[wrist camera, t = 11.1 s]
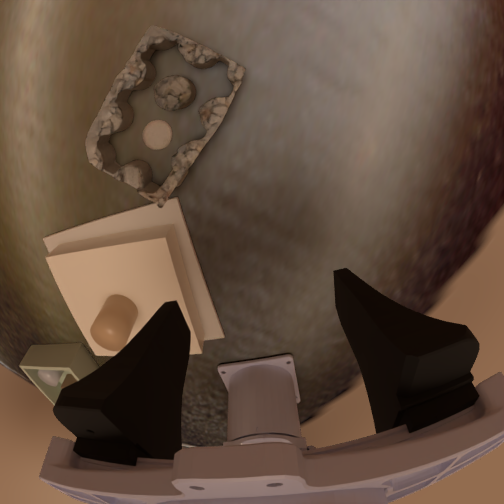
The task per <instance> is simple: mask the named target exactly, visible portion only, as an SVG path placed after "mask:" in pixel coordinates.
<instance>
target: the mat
mask: <svg viewBox="0 0 504 504" xmlns="http://www.w3.org/2000/svg"><path fill="white" fill-rule="evenodd" d="M167 224H173V225H174V229H175V233H176V237H177V240H178V244H179V248H180V252H181V256H182V259H183V263H184V267H185V270H186V274H187V277H188V281H189V284H190V288H191V291H192V295H193V298H194V301H195V305H196V308H197V311H198V315H199V318H200V321H201V324H202V328H203V331H204V334H205V336H204V340H212V339H219V338H225V334H224V331H223V329H222V326H221V323H220V320H219V318H218V315H217V312H216V310H215V307H214V304H213V301H212V298H211V296H210V293H209V290H208V287H207V284H206V281H205V278H204V276H203V273H202V270H201V267H200V264H199V261H198V258H197V255H196V252H195V249H194V246H193V243H192V240H191V237H190V234H189V231H188V227H187V224H186V221H185V218H184V215H183V212H182V208H181V205H180V202H179V199H178V196H177V197H173V198H169V199H168V200H167V202H166V203H165V204H164V206H163V208H159V207H158V206H157V204H155V203H151V204H147V205H143V206H140V207H136V208H133V209H129V210H126V211H123V212H119V213H116V214H112V215H109V216H106V217H103V218H99V219H96V220H93V221H90V222H87V223H84V224H81V225H78V226H75V227H72V228H69V229H66V230H63V231H60V232H57V233H54V234H51V235H48V236H46V237H44V238H43V240H44V242H45V245H46V247H47V249H48V251H49V253H50V252H51V251H52V250H53V249H55V248H56V247H57V246H58V245H59V244H62V243H67V242H72V241H77V240H82V239H87V238H92V237H98V236H103V235H109V234H114V233H120V232H125V231H131V230H137V229H143V228H149V227H155V226H161V225H167Z"/></svg>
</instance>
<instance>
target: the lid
mask: <svg viewBox="0 0 504 504" xmlns="http://www.w3.org/2000/svg"><path fill="white" fill-rule="evenodd" d="M45 258H46V260H47V262H48V265H49V267H50V269H51V272H52V274H53V276H54V278H55V281H56V283H57V285H58V287H59V289H60V291H61V293H62V295H63V297H64V299H65V301H66V303H67V305H68V307H69V309H70V311H71V313H72V315H73V317H74V319H75V320H76V322H77V324H78V326H79V328H80V329H81V331H82V333H83V335H84V336H85V338H86V340H87V342H88V343H89V345H90V347H91V348H92V350H93V352H94V353H95V355H96V356H115V355H116V354H117V353H118V352H119V351H120V350H122V349H123V348H124V347H125V346H126V345H127V344H128V343H129V342H130V341H131V340H132V338H133V337H134V336H135V335H136V334H137V333H138V332H139V331H140V330H141V329H142V328H143V326H144V325H145V324H146V323H147V322H148V321H149V320H150V318H151V317H152V316H153V315H154V314H155V312H156V311H157V310H158V309H159V308H160V307H161V306H162V305H163V304H164V303H165V302H169V301H175V300H177V302H178V304H179V307H180V309H181V311H182V314H183V316H184V318H185V320H186V322H187V325H188V327H189V329H190V331H191V344H190V354H202V351H203V344H204V336H205V334H204V331H203V328H202V324H201V321H200V318H199V315H198V311H197V308H196V305H195V301H194V298H193V295H192V291H191V288H190V284H189V281H188V277H187V274H186V270H185V267H184V263H183V259H182V256H181V252H180V248H179V244H178V240H177V237H176V233H175V229H174V225H173V224H167V225H161V226H155V227H149V228H143V229H137V230H131V231H125V232H120V233H114V234H109V235H103V236H98V237H92V238H87V239H82V240H77V241H72V242H67V243H62V244H59V245H58V246H57V247H56V248H55V249H53V250H52V251H51V252H50V253H49V254H48V255H47V256H46V257H45Z"/></svg>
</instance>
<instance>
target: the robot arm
mask: <svg viewBox="0 0 504 504" xmlns="http://www.w3.org/2000/svg"><path fill="white" fill-rule="evenodd" d="M333 272H334V286H335V303H336V309H337V312H338V316H339V319H340V322H341V325H342V327H343V330H344V332H345V334H346V336H347V339H348V341H349V343H350V345H351V348H352V350H353V352H354V354H355V357H356V359H357V361H358V364H359V367H360V369H361V373H362V376H363V380H364V383H365V387H366V390H367V394H368V398H369V402H370V406H371V410H372V415H373V419H374V423H375V429H376V434H374V435H371V436H367V437H364V438H360V439H356V440H353V441H349V442H345V443H340V444H336V445H332V446H327V447H322V448H317V449H316V448H315V447H314V446H308V447H307V446H306V439H305V437H301V429H300V422H299V416H298V409H297V403H299V402H300V395H299V389H298V384H297V378H296V372H295V367H294V361H293V356H292V355H290V354H286V355H281V356H275V357H269V358H263V359H257V360H251V361H244V362H237V363H229V364H222V365H219V366H218V372H219V374H220V376H221V378H222V380H223V382H224V384H225V386H226V388H227V390H228V425H227V442H224V443H223V446H210V447H190V448H183V449H182V442H181V407H182V393H183V387H184V381H185V376H186V370H187V365H188V360H189V354H190V344H191V331H190V329H189V327H188V325H187V322H186V320H185V318H184V316H183V314H182V311H181V309H180V307H179V304H178V302H177V300H175V301H169V302H165V303H164V304H163V305H162V306H161V307H160V308H159V309H158V310H157V311H156V312H155V314H154V315H153V316H152V317H151V318H150V320H149V321H148V322H147V323H146V324H145V325H144V326H143V328H142V329H141V330H140V331H139V332H138V333H137V334H136V335H135V336H134V337H133V338H132V340H131V341H130V342H129V343H128V344H127V345H126V346H125V347H124V348H123V349H122V350H120V351H119V352H118V353H117V354H116V355H115V356H114V357H112V358H111V359H110V360H109V361H107V362H106V363H105V364H103V365H102V366H101V367H99V368H98V369H97V370H95V371H94V372H92V373H90V374H89V375H87V376H86V377H84V378H82V379H80V380H79V381H77V382H75V383H73V384H71V385H69V386H67V387H64V388H62V390H61V392H60V394H59V396H58V399H57V401H56V403H55V406H54V408H53V412H54V415H55V416H56V418H57V419H58V420H59V421H60V422H61V423H62V424H63V425H64V426H65V427H66V428H67V429H68V430H69V431H71V432H72V433H73V434H74V435H75V436H76V437H77V439H76V442H73V441H71V440H69V439H64V438H60V437H56V436H53V437H52V440H51V443H50V446H49V448H48V451H47V454H46V457H45V460H44V463H43V466H42V469H41V472H40V475H39V478H40V479H41V480H42V481H44V482H46V483H47V484H49V485H50V486H52V487H54V488H55V489H57V490H59V491H61V492H63V493H64V494H66V495H68V496H70V497H71V498H73V499H76V500H79V501H82V502H85V503H88V504H388V503H390V502H392V501H395V500H397V499H400V498H402V497H405V496H407V495H410V494H412V493H414V492H417V491H419V490H421V489H423V488H425V487H428V486H429V485H432V484H434V483H436V482H438V481H440V480H442V479H444V478H445V477H448V476H449V475H451V474H453V473H455V472H457V471H459V470H460V469H462V468H464V467H465V466H467V465H469V464H471V463H472V462H474V461H476V460H477V459H479V458H481V457H482V456H484V455H486V454H487V453H489V452H491V451H492V450H494V449H495V448H497V447H498V446H500V445H501V444H502V443H503V442H504V376H503V374H502V373H501V372H498V373H497V374H495V375H493V376H491V377H490V378H488V379H486V380H484V381H482V382H481V383H479V384H478V385H477V386H476V387H474V385H473V384H472V381H473V380H474V377H473V375H472V374H471V372H470V371H471V368H472V366H473V364H474V362H475V360H476V358H477V355H478V352H479V342H478V341H477V339H476V338H475V336H474V335H473V334H472V332H471V331H470V330H469V329H468V327H467V326H466V325H462V324H456V323H451V322H446V321H442V320H439V319H435V318H432V317H429V316H426V315H423V314H421V313H418V312H415V311H413V310H411V309H408V308H406V307H404V306H402V305H400V304H398V303H396V302H394V301H393V300H391V299H389V298H388V297H386V296H384V295H383V294H381V293H380V292H378V291H377V290H375V289H374V288H372V287H371V286H370V285H368V284H367V283H365V282H364V281H363V280H362V279H360V278H359V277H358V276H356V275H355V274H354V273H352V272H351V271H350V270H349V269H347V268H344V269H339V270H335V271H333ZM288 361H289V362H288Z"/></svg>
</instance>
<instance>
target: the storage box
mask: <svg viewBox="0 0 504 504" xmlns="http://www.w3.org/2000/svg"><path fill="white" fill-rule="evenodd" d="M19 366H20V367H21V369H22V370H23V371H24V372H25V373H26V375H27V376H28V377H29V378H30V379H31V381H32V382H33V383H34V384H35V385H36V386H37V387H38V388H39V390H40V391H41V392H42V393H43V394H44V395H45V396H46V397H47V398H48V399H49V400H50V401H51V402H52V403H53V404H54V406H55V403H56V401H57V399H58V396H59V394H60V392H61V390H62V388H64V387H67V386H69V385H71V384H73V383H75V382H77V381H79V380H80V379H82V378H84V377H86V376H87V375H89V374H90V373H92V372H94V371H95V370H97V369H98V368H99V366H98V364H97V363H96V362H95V360H94V359H93V357H92V356H91V355H90V353H89V352H88V350H87V349H86V348H85V346H84V345H83V343H70V344H47V345H31V347H30V348H29V350H28V352H27V353H26V355H25V356H24V358H23V360H22V361H21V363H20V365H19Z"/></svg>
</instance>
